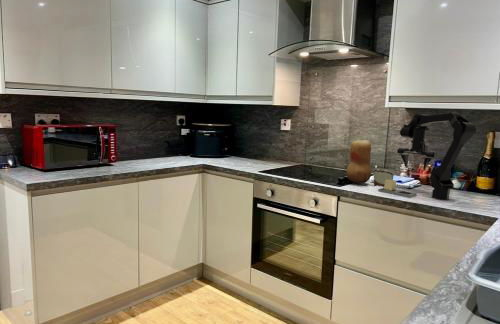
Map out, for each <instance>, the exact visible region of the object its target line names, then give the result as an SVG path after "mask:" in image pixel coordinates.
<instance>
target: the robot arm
mask: <svg viewBox="0 0 500 324" xmlns="http://www.w3.org/2000/svg"><path fill="white" fill-rule="evenodd" d="M446 122H449V124H450V126H451V128H453V132H452V135H453V138H452V141H451V143H450V145H449V147H448V149H447V151H446V153H445V155H444V157H443V159H442V161H441V163H440V165H438V166H433V167H432V169H431V170H432V171H431V172H430V173H429V175H430V176H429V179H430V182H431V183H430V184H431V185H430V186H431V188H433V189H432V193H431V198H432V199H436V200H438V201H439V200H441V201H448V200H450V193H451V189H453V188H454V186H455V184H454V183H453V180H452V179H451V177H452V170H451V169H452V168H453V165H454V164H455V162H456V160H457V158H458V156H459V154H460V152H461V151H462V149H463V147H464V145H465V143H466V142H468V141H469V140H470V139H472V137H473V136H474V135H475V134H476V131H477V127H476V125H475V124H474V123H473V122H471V121H469V120H468V119H467V118H465V117H464V116H462V115H461V114H460V113H459V112H453V111H451V112H446V113H436V114H423V113H422V114H421V113H420V114H419V113H416V114H414V115H413V117H412V119H411V120H410V121H409V123H408V124H403V126H402V127H401V129H400V131H399V135H400V136H401V137H402V138H407V139H412V140H410V141H411V142H410V143H411V148H410V149H409V148H408V147H398V148H397V151H396V153H397V154H398V155H399V156H401V158H402V162H403V163H404V164H403V165H404V166H405V168H406V169H407V168H408V167H409V165H408V164H409V156H410V154H411V155H422V156H425V157H424V158H423V159H424V161H423V167H422V168H423V171H425V170H426V169H427V167H428V166H429V163H430V162H431V161H432V160H433V159H435V158H438V156H439V153H438V151H435V150H429V146H428V145H426V141H425V140H426V132H427V131H429V132H430V128H429V127H428V126H430V125H431V124H435V123H446Z"/></svg>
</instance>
